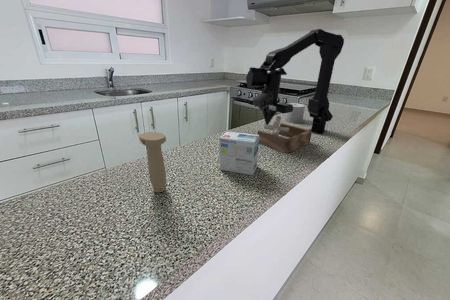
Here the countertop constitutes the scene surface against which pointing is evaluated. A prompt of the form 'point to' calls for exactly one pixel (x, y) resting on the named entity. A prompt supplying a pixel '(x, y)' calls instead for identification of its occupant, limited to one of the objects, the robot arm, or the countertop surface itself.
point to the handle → (155, 159)
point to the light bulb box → (239, 152)
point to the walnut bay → (295, 141)
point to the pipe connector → (276, 127)
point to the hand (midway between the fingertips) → (267, 124)
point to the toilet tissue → (295, 113)
